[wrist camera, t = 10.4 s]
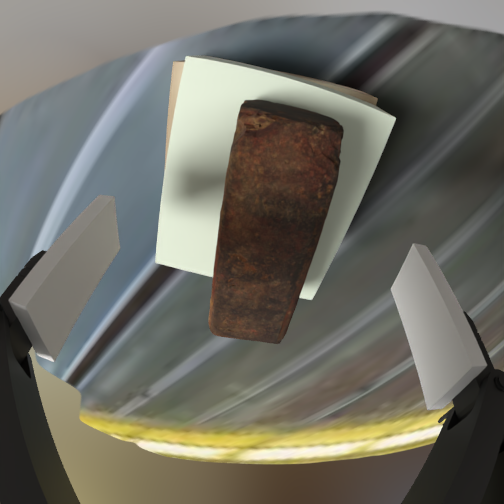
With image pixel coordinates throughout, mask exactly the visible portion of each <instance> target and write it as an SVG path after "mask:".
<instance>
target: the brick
mask: <svg viewBox="0 0 504 504" xmlns="http://www.w3.org/2000/svg"><path fill="white" fill-rule="evenodd" d="M343 134H344V130H343V126H342V125H340V124H339V122H338V121H336V120H335V119H333V118H331V117H328V116H325V115H322V114H319V113H317V112H313V111H309V110H306V109H302V108H298V107H293V106H289V105H285V104H280V103H273V102H270V101H265V100H257V99H256V100H245V101H244V103H243V104H242V105H241V107H240V111H239V114H238V118H237V124H236V131H235V133H234V139H233V143H232V146H231V151H230V156H229V163H228V167H227V171H226V178H225V186H224V195H223V201H222V207H221V211H220V220H219V229H218V238H217V245H216V253H215V262H214V271H213V283H212V296H211V299H210V312H209V326H210V330H211V332H212V333H213V334H214V335H217V336H221V337H228V338H236V339H244V340H252V341H261V342H267V343H274V344H279V343H280V342H281V340H282V339H283V338H284V336H285V334H286V332H287V329H288V326H289V323H290V321H291V318H292V315H293V313H294V310H295V308H296V305H297V302H298V299H299V297H300V294H301V291H302V288H303V285H304V283H305V280H306V277H307V274H308V271H309V268H310V265H311V262H312V259H313V256H314V254H315V251H316V248H317V245H318V242H319V239H320V236H321V233H322V230H323V226H324V223H325V220H326V217H327V214H328V211H329V207H330V204H331V201H332V198H333V194H334V190H335V187H336V185H337V182H338V175H339V168H340V162H341V160H340V158H339V156H340V153H341V150H340V149H341V141H342V139H343Z"/></svg>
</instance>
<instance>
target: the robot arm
mask: <svg viewBox="0 0 504 504" xmlns="http://www.w3.org/2000/svg"><path fill="white" fill-rule="evenodd" d="M119 250H120V244H119V237H118V228H117V219H116V209H115V198H114V196H104V195H99V196H98V197H97V198H96V199H95V200H94V201H93V202H92V203H91V204H90V205H89V206H88V207H87V208H86V209H85V210H84V211H83V212H82V213H81V214H80V215H79V216H78V217H77V218H76V219H75V220H74V222H73V223H72V224H71V225H70V226H69V227H68V228H67V229H66V230H65V231H64V232H63V234H62V235H61V236H60V237H59V238H58V239H57V240H56V241H55V243H54V244H53V245H52V246H51V247H50V248H49V249H48V251H43V250H42V251H41V252H39V253H38V254H36V255H35V256H33V257H32V258H31V259H30V260H29V262H28V263H27V264H26V265H25V266H24V269H22V270H21V271H20V272H19V274H18V276H16V277H15V279H14V280H13V281H12V282H11V284H10V285H9V286H8V288H7V289H6V290H5V292H4V293H3V294H2V295H1V297H0V504H80V502H79V500H78V498H77V496H76V494H75V492H74V489H73V487H72V485H71V483H70V481H69V478H68V476H67V474H66V471H65V469H64V467H63V465H62V462H61V460H60V457H59V454H58V452H57V449H56V446H55V443H54V440H53V438H52V435H51V432H50V429H49V426H48V423H47V419H46V416H45V413H44V410H43V406H42V402H41V399H40V395H39V391H38V387H37V383H36V379H35V375H34V370H33V365H32V360H31V357H30V355H29V353H28V352H29V350H30V349H31V347H32V346H33V348H34V350H35V351H36V353H37V355H38V356H40V357H43V358H45V359H48V360H50V361H53V362H55V360H56V358H57V356H58V354H59V352H60V350H61V349H62V347H63V345H64V343H65V341H66V339H67V337H68V335H69V333H70V332H71V330H72V328H73V326H74V324H75V322H76V321H77V319H78V317H79V315H80V314H81V312H82V310H83V308H84V307H85V305H86V303H87V301H88V300H89V298H90V296H91V295H92V293H93V291H94V290H95V288H96V286H97V285H98V283H99V281H100V280H101V278H102V276H103V275H104V273H105V272H106V270H107V268H108V267H109V265H110V264H111V262H112V261H113V259H114V257H115V256H116V254H117V253H118V251H119ZM391 292H392V294H393V297H394V300H395V303H396V306H397V308H398V311H399V314H400V317H401V320H402V323H403V326H404V329H405V332H406V335H407V338H408V341H409V345H410V348H411V351H412V354H413V358H414V361H415V364H416V368H417V371H418V375H419V379H420V382H421V386H422V390H423V394H424V397H425V401H426V406H427V410H433V409H442V408H444V407H445V406H446V405H447V404H448V403H449V402H451V401H453V404H454V407H453V408H452V409H451V410H449V411H448V412H447V413H446V414H445V415H443V416H442V417H441V418H440V419H439V421H438V422H439V423H440V422H442V421H443V420H444V419H446V420H445V423H444V424H443V427H442V429H441V432H440V434H439V436H438V438H437V440H436V442H435V444H434V447H433V449H432V450H431V453H430V454H429V457H428V458H427V460H426V463H425V464H424V466H423V468H422V470H421V471H420V473H419V475H418V477H417V478H416V480H415V482H414V484H413V485H412V487H411V489H410V491H409V492H408V494H407V495H406V497H405V498H404V500H403V502H402V503H401V504H504V372H503V371H501V370H499V369H494V367H493V365H492V362H491V360H490V358H489V355H488V353H487V351H486V348H485V346H484V344H483V342H482V341H481V337H480V335H479V333H477V329H476V327H475V325H474V323H473V321H472V320H471V318H470V317H469V316H468V315H467V314H466V312H463V311H462V309H461V307H460V305H459V303H458V301H457V299H456V297H455V295H454V293H453V291H452V290H451V288H450V286H449V284H448V282H447V280H446V279H445V277H444V275H443V273H442V271H441V270H440V268H439V266H438V264H437V263H436V261H435V259H434V258H433V256H432V254H431V253H430V251H429V249H428V248H427V246H424V245H419V244H414V243H413V245H412V247H411V249H410V251H409V253H408V255H407V257H406V260H405V262H404V264H403V266H402V268H401V270H400V272H399V274H398V276H397V278H396V280H395V282H394V284H393V286H392V287H391Z"/></svg>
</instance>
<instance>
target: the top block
mask: <svg viewBox="0 0 504 504" xmlns="http://www.w3.org/2000/svg"><path fill="white" fill-rule="evenodd" d="M256 99H257V100H265V101H270V102H273V103H280V104H285V105H289V106H293V107H298V108H302V109H306V110H309V111H313V112H317V113H319V114H322V115H325V116H328V117H331V118H333V119H335V120H336V121H338V122H339V124H340V125H342V126H343V130H344V134H343V139H342V141H341V149H340V150H341V153H340V156H339V158H340V160H341V162H340V168H339V175H338V182H337V185H336V187H335V190H334V194H333V198H332V201H331V204H330V207H329V211H328V214H327V217H326V220H325V223H324V226H323V230H322V233H321V236H320V239H319V242H318V245H317V248H316V251H315V254H314V256H313V259H312V262H311V265H310V268H309V271H308V274H307V277H306V280H305V283H304V285H303V288H302V291H301V294H300V298H304V299H309V300H312V299H313V297H314V295H315V293H316V291H317V289H318V287H319V286H320V284H321V282H322V280H323V278H324V276H325V274H326V272H327V270H328V268H329V266H330V264H331V262H332V260H333V258H334V256H335V254H336V252H337V250H338V248H339V246H340V244H341V242H342V240H343V238H344V236H345V234H346V232H347V230H348V228H349V226H350V224H351V221H352V219H353V217H354V215H355V213H356V211H357V209H358V207H359V204H360V202H361V200H362V198H363V196H364V193H365V191H366V189H367V187H368V184H369V182H370V180H371V178H372V175H373V173H374V171H375V169H376V166H377V164H378V162H379V159H380V157H381V154H382V152H383V150H384V147H385V145H386V142H387V140H388V138H389V135H390V133H391V130H392V128H393V125H394V123H395V120H396V118H395V117H394V116H392V115H390V114H389V113H387V112H385V111H383V110H382V109H380V108H378V107H377V106H375V105H373V104H371V103H368V102H366V101H363V100H361V99H358V98H356V97H353V96H351V95H348V94H345V93H343V92H340V91H337V90H334V89H332V88H329V87H326V86H323V85H320V84H317V83H314V82H311V81H308V80H304V79H301V78H298V77H295V76H291V75H288V74H284V73H281V72H277V71H273V70H269V69H266V68H262V67H258V66H253V65H249V64H245V63H240V62H236V61H231V60H226V59H221V58H216V57H210V56H186V58H185V63H184V67H183V72H182V76H181V81H180V86H179V91H178V96H177V101H176V106H175V111H174V117H173V123H172V128H171V134H170V140H169V147H168V153H167V160H166V167H165V174H164V182H163V190H162V198H161V207H160V216H159V226H158V237H157V248H156V261H155V263H159V264H163V265H166V266H170V267H174V268H178V269H182V270H186V271H190V272H194V273H198V274H202V275H206V276H210V277H213V271H214V262H215V253H216V245H217V238H218V229H219V220H220V211H221V207H222V201H223V195H224V186H225V178H226V171H227V167H228V163H229V156H230V151H231V146H232V143H233V139H234V133H235V131H236V124H237V118H238V114H239V111H240V107H241V105H242V104H243V103H244V101H245V100H256Z"/></svg>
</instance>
